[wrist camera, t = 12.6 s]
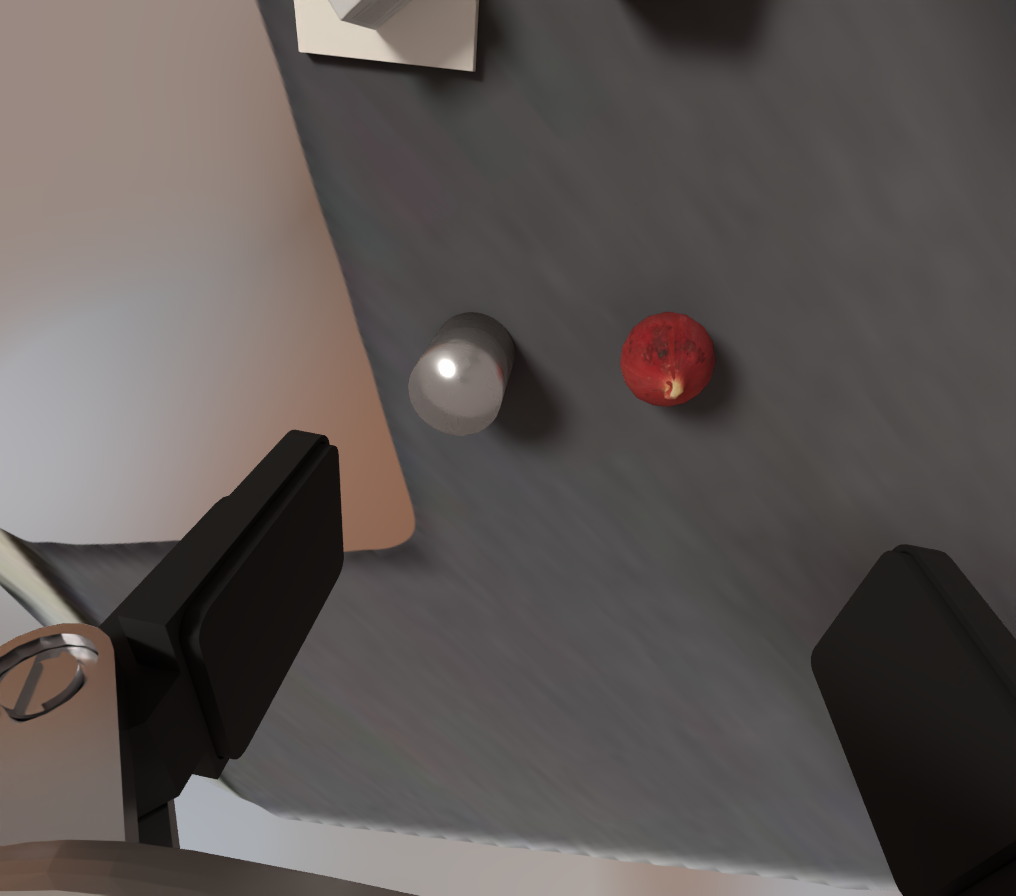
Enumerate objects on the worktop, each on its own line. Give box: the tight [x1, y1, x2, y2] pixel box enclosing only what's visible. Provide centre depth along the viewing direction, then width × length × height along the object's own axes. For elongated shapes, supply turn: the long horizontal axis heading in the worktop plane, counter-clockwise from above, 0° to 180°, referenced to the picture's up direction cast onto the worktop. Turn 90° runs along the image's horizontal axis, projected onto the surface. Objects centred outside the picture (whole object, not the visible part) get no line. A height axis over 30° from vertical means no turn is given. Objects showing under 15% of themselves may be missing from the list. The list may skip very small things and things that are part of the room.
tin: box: [408, 312, 515, 435], centre depth 37 cm, size 6×6×7 cm
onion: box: [620, 312, 716, 406], centre depth 34 cm, size 6×6×8 cm
